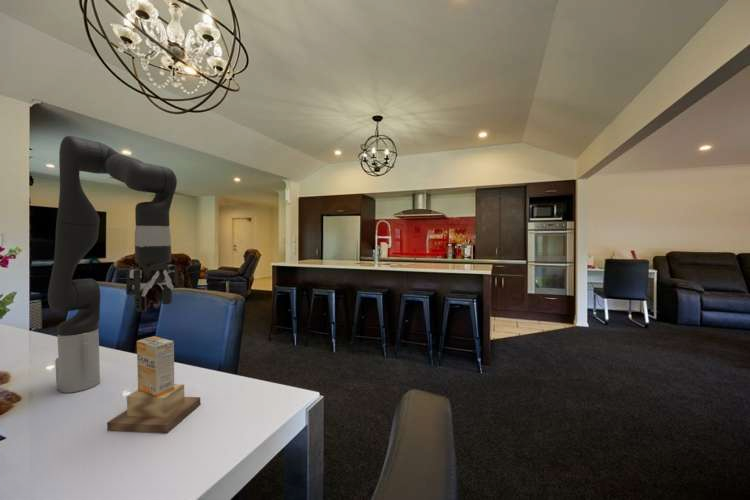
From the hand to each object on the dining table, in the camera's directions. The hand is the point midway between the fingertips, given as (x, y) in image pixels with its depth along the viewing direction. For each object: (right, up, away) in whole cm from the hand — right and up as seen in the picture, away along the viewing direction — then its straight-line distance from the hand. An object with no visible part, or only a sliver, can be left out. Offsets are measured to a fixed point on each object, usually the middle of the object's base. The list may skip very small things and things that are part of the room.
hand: (154, 307), depth 81 cm
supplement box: (0, -22, +1) cm, 22 cm away
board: (0, -29, +1) cm, 29 cm away
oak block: (0, -27, +1) cm, 27 cm away
